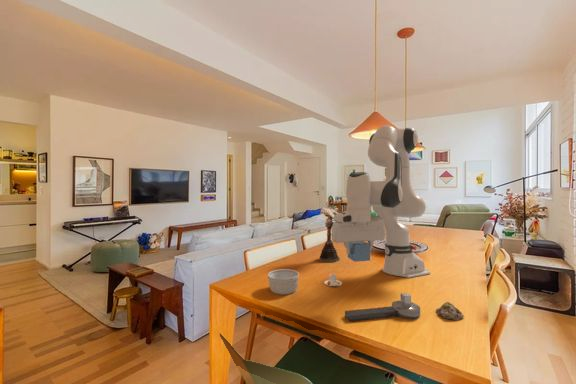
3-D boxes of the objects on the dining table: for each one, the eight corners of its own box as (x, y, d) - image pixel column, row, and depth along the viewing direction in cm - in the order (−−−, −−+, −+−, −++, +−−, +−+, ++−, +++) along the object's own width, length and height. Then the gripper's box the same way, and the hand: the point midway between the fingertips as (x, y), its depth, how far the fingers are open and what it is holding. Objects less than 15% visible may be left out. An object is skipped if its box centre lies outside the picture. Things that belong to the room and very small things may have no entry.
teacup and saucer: (337, 289, 118) (337, 279, 118) (320, 285, 122) (320, 276, 122) (344, 282, 125) (344, 274, 125) (328, 279, 129) (328, 271, 129)
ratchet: (352, 326, 86) (352, 305, 86) (341, 313, 95) (341, 294, 95) (426, 318, 91) (426, 298, 91) (409, 306, 100) (409, 288, 100)
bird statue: (351, 260, 162) (351, 201, 161) (340, 264, 152) (340, 202, 151) (327, 255, 173) (327, 200, 172) (315, 259, 163) (315, 201, 162)
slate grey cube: (362, 256, 105) (362, 240, 105) (370, 260, 99) (370, 244, 99) (347, 257, 104) (347, 241, 104) (354, 261, 98) (354, 244, 98)
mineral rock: (466, 317, 87) (438, 305, 91) (461, 329, 87) (434, 316, 91) (464, 305, 96) (439, 295, 100) (460, 316, 96) (436, 305, 100)
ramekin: (275, 298, 108) (275, 281, 107) (263, 287, 119) (263, 271, 119) (304, 292, 114) (304, 275, 114) (290, 282, 125) (289, 267, 125)
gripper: (379, 214, 106) (379, 249, 107) (329, 216, 102) (329, 252, 102) (388, 216, 100) (388, 253, 100) (336, 217, 96) (336, 257, 96)
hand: (358, 253), depth 101 cm, fingers closed on slate grey cube, 6 cm apart
